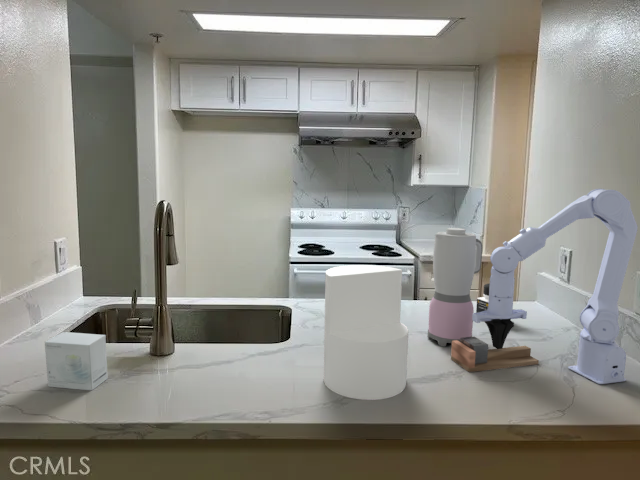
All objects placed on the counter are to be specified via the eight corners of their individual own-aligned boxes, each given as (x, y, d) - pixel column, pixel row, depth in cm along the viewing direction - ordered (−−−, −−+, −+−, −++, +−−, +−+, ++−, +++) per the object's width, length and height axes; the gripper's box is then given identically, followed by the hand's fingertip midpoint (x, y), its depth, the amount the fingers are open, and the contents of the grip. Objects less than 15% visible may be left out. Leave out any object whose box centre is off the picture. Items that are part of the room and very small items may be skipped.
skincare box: (46, 387, 100) (43, 341, 99) (66, 375, 107) (63, 331, 105) (91, 391, 99) (88, 344, 97) (109, 378, 105) (106, 333, 104)
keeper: (487, 362, 114) (488, 344, 114) (472, 364, 113) (474, 345, 112) (473, 354, 120) (474, 336, 119) (459, 355, 119) (460, 337, 118)
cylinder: (312, 369, 112) (313, 267, 108) (381, 359, 118) (385, 263, 115) (343, 405, 95) (346, 285, 91) (422, 392, 101) (428, 279, 98)
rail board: (538, 364, 117) (540, 345, 117) (468, 372, 112) (470, 352, 111) (516, 352, 125) (518, 334, 124) (450, 359, 119) (451, 340, 119)
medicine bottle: (475, 318, 154) (477, 283, 153) (491, 315, 157) (493, 281, 156) (491, 324, 148) (494, 287, 146) (508, 322, 151) (510, 286, 149)
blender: (444, 350, 126) (450, 232, 121) (418, 335, 137) (423, 227, 132) (490, 343, 132) (498, 230, 127) (462, 329, 143) (468, 225, 138)
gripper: (514, 289, 122) (511, 339, 124) (466, 292, 118) (463, 344, 120) (534, 296, 115) (530, 349, 117) (483, 300, 111) (480, 354, 113)
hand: (497, 347), depth 118 cm, fingers closed
